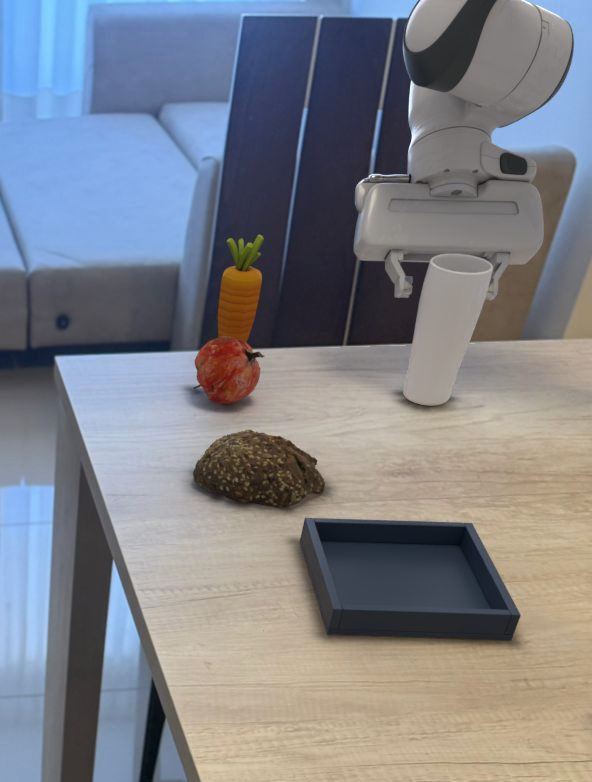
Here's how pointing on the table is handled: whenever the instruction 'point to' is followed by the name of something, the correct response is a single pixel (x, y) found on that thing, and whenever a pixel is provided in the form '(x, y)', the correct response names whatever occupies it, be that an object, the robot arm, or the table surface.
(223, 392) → the pomegranate
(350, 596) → the dark blue-gray tray
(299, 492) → the bread roll
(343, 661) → the table surface
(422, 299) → the white cup
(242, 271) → the carrot
